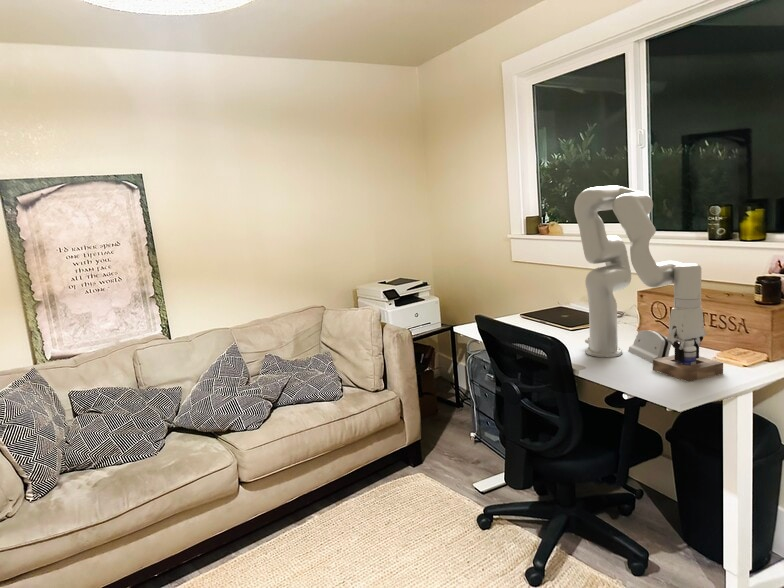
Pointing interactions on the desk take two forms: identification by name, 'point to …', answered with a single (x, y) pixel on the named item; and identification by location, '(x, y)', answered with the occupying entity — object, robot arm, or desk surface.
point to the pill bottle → (689, 353)
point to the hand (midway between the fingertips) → (686, 358)
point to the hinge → (650, 345)
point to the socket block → (688, 368)
